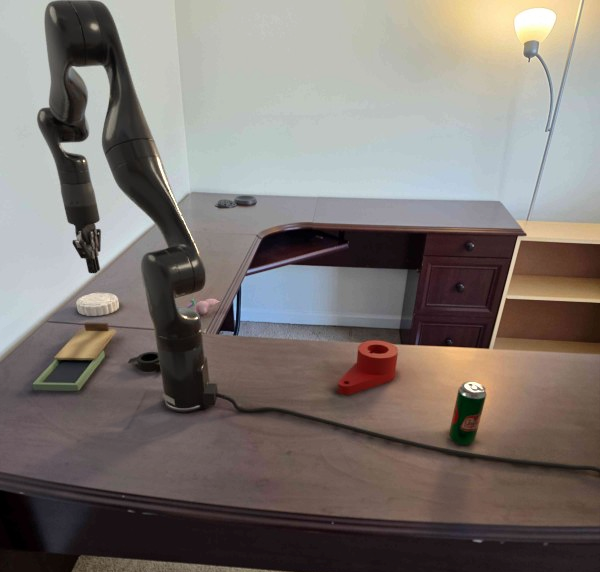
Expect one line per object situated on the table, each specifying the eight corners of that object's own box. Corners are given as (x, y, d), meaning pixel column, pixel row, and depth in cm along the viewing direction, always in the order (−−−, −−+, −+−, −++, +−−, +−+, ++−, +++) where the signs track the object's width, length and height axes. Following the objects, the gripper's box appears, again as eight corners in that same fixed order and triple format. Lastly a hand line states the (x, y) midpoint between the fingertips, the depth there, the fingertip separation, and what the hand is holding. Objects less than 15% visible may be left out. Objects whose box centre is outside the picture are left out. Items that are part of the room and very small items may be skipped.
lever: (371, 360, 126) (373, 337, 123) (402, 373, 121) (405, 349, 117) (324, 386, 115) (326, 360, 112) (356, 401, 110) (359, 375, 106)
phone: (97, 357, 125) (96, 354, 124) (74, 387, 112) (73, 384, 112) (69, 357, 125) (68, 354, 124) (43, 387, 112) (42, 383, 112)
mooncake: (87, 319, 146) (84, 308, 144) (72, 308, 153) (69, 296, 152) (125, 310, 153) (123, 298, 151) (109, 299, 160) (107, 288, 158)
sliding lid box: (105, 357, 126) (103, 350, 125) (79, 392, 111) (77, 384, 110) (66, 356, 126) (64, 349, 125) (34, 391, 111) (32, 384, 110)
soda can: (459, 449, 96) (471, 396, 89) (443, 434, 100) (453, 383, 93) (480, 443, 98) (493, 391, 91) (463, 429, 101) (475, 378, 95)
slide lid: (116, 331, 134) (115, 322, 133) (94, 360, 120) (91, 350, 118) (81, 330, 134) (79, 321, 133) (54, 359, 120) (51, 349, 118)
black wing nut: (153, 356, 127) (152, 345, 125) (176, 369, 121) (174, 358, 120) (126, 366, 122) (124, 355, 121) (148, 380, 116) (146, 369, 115)
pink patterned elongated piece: (184, 329, 145) (225, 308, 152) (179, 310, 141) (221, 290, 148) (173, 322, 148) (213, 302, 156) (167, 304, 145) (209, 285, 152)
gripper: (84, 207, 115) (99, 280, 125) (104, 197, 127) (117, 264, 136) (52, 207, 115) (69, 280, 125) (75, 196, 127) (89, 263, 136)
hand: (94, 271), depth 130 cm, fingers closed
